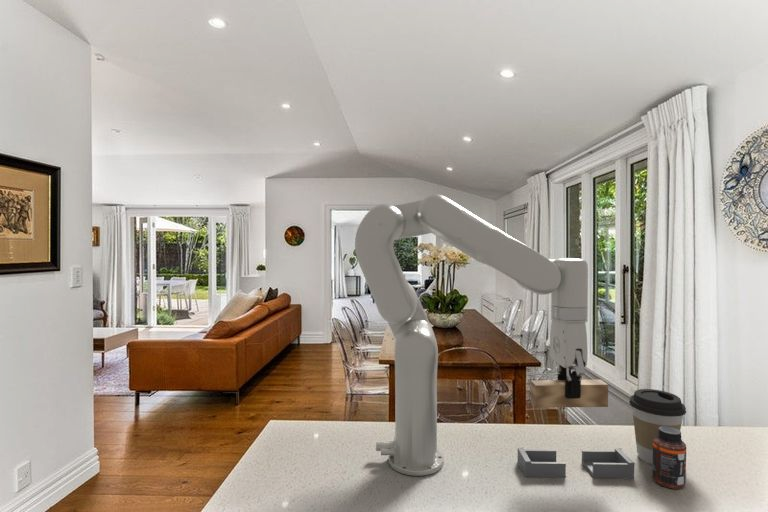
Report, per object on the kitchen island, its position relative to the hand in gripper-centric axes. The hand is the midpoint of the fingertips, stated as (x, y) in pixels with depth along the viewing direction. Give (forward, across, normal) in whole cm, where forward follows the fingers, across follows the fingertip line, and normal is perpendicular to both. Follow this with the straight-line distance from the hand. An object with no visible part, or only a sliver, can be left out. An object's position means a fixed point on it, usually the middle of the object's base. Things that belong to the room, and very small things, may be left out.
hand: (568, 393), depth 100 cm
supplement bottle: (+17, +7, +18) cm, 26 cm away
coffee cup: (+17, -3, +22) cm, 28 cm away
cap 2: (+17, +2, +8) cm, 19 cm away
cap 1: (+16, +2, -7) cm, 18 cm away
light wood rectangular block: (+2, 0, 0) cm, 2 cm away
